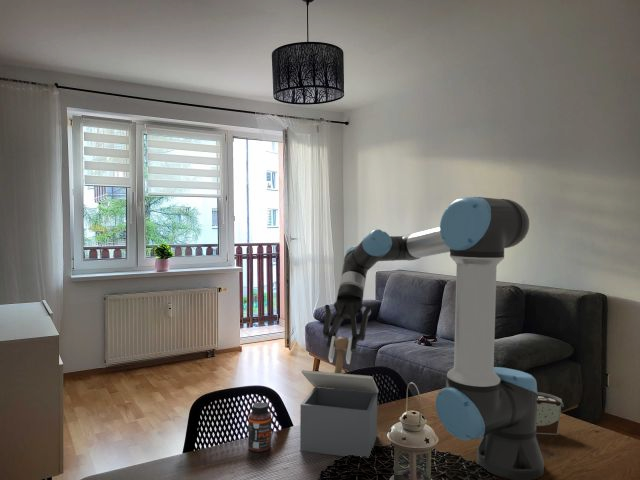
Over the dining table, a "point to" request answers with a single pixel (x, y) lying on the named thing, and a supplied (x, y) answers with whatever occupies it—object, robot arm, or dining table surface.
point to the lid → (339, 379)
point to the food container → (548, 414)
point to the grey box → (338, 422)
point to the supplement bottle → (259, 428)
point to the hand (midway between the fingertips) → (339, 360)
